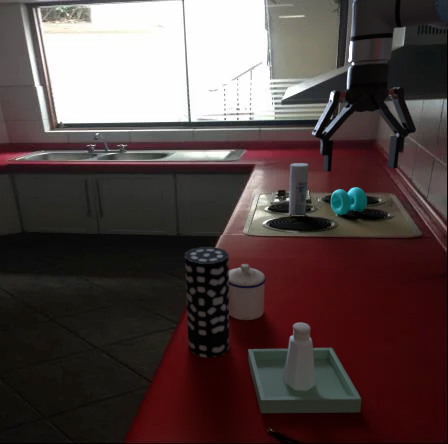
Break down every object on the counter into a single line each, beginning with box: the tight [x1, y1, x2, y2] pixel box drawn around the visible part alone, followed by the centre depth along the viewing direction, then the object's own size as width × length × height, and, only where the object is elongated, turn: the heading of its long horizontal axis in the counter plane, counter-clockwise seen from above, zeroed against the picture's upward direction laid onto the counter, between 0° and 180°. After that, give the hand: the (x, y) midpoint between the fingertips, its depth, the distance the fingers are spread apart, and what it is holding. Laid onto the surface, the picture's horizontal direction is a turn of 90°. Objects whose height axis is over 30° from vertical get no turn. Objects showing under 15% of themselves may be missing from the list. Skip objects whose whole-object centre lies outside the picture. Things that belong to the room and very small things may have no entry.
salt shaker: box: [283, 322, 315, 391], centre depth 71 cm, size 5×5×11 cm
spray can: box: [288, 162, 309, 216], centre depth 161 cm, size 6×6×20 cm
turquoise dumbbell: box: [330, 187, 368, 216], centre depth 161 cm, size 10×10×10 cm
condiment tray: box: [247, 347, 362, 414], centre depth 73 cm, size 16×14×3 cm
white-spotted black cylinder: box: [184, 246, 230, 359], centre depth 82 cm, size 8×8×20 cm
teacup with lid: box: [229, 263, 266, 321], centre depth 96 cm, size 12×9×12 cm
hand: (359, 169), depth 90 cm, fingers open, 13 cm apart
